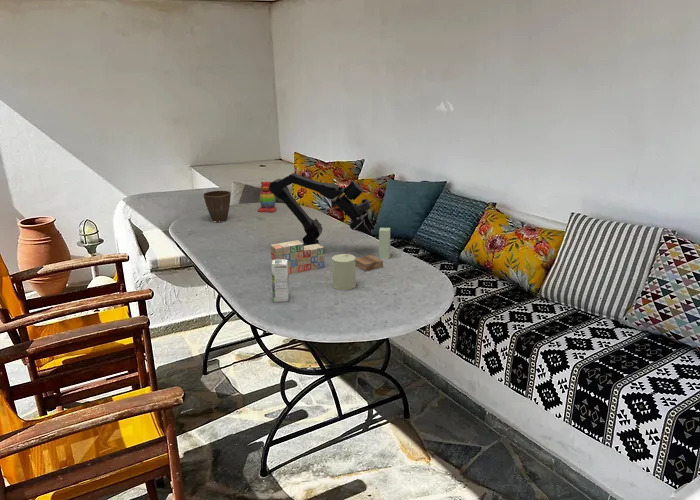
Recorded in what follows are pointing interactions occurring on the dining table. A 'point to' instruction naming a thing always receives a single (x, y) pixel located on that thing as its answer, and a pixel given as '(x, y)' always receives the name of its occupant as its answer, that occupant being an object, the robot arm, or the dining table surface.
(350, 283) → the can
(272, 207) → the stacking bear
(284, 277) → the syrup box
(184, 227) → the dining table surface
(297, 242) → the stack of blocks
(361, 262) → the walnut slab
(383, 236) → the sage post
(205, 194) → the plant pot
